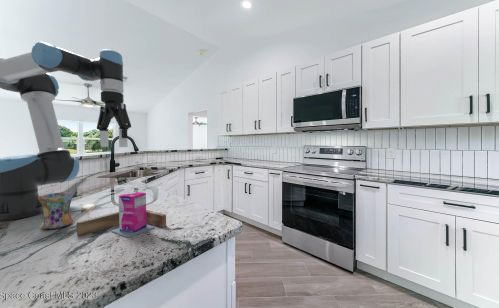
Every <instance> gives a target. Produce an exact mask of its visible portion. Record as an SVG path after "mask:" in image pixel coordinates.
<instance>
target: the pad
mask: <svg viewBox="0 0 499 308" xmlns="http://www.w3.org/2000/svg"><path fill="white" fill-rule="evenodd" d="M153 229H155V226H154V225H150V224H147V226H146V227H144V228H142V229H140V230H138V231H136V232H128V231H120V227H117V228H114V229H112V230H111V232H110V233H113V234H116V235H119V236H121V237H124V238H131V237H134V236H137V235H140V234H142V233H145V232H149V231H150V230H153Z"/></svg>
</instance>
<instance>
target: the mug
mask: <svg viewBox="0 0 499 308" xmlns="http://www.w3.org/2000/svg"><path fill="white" fill-rule="evenodd" d="M74 195H75V193H74V192H71V191H70V192H68V191H67V192H66V191H65V192H63V191H61V192H53V193H47V194H42V195H39V197H38V200H39V201H40V203H41V205H42V207H43V211H44V212H43V218H42V223H41V224H40V226H39V227H40V228H41V229H43V230H55V229H60V228H63V227H67V226H69V225H72V224H73V223H74V219H73V217H72V215H71V202H72V200H73V197H74Z"/></svg>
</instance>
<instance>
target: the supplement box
mask: <svg viewBox="0 0 499 308" xmlns="http://www.w3.org/2000/svg"><path fill="white" fill-rule="evenodd" d="M146 210H147V194H146V192H140V191H129V192H126V193H124V194H120V195H118V212H119V224H118V225H119V227H118V228H120V231H128V232H136V231H138V230H140V229H142V228H144V227H146V226H147V225H148V223H147V221H146Z"/></svg>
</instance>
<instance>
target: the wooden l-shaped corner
mask: <svg viewBox="0 0 499 308" xmlns="http://www.w3.org/2000/svg"><path fill="white" fill-rule="evenodd" d="M146 221H147V225H151V226H154V227H159V228H161V229H162V228H165V227H167V214H165V213H161V212H158V211H153V210H149V209H146ZM118 225H119V211H117V212H112V213H108V214H104V215H101V216H96V217H93V218H89V219H85V220H80V221H77V222H76V236H78V237H81V236H85V235H89V234H92V233H95V232H98V231H101V230H104V229H108V228H112V227H115V226H118Z"/></svg>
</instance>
